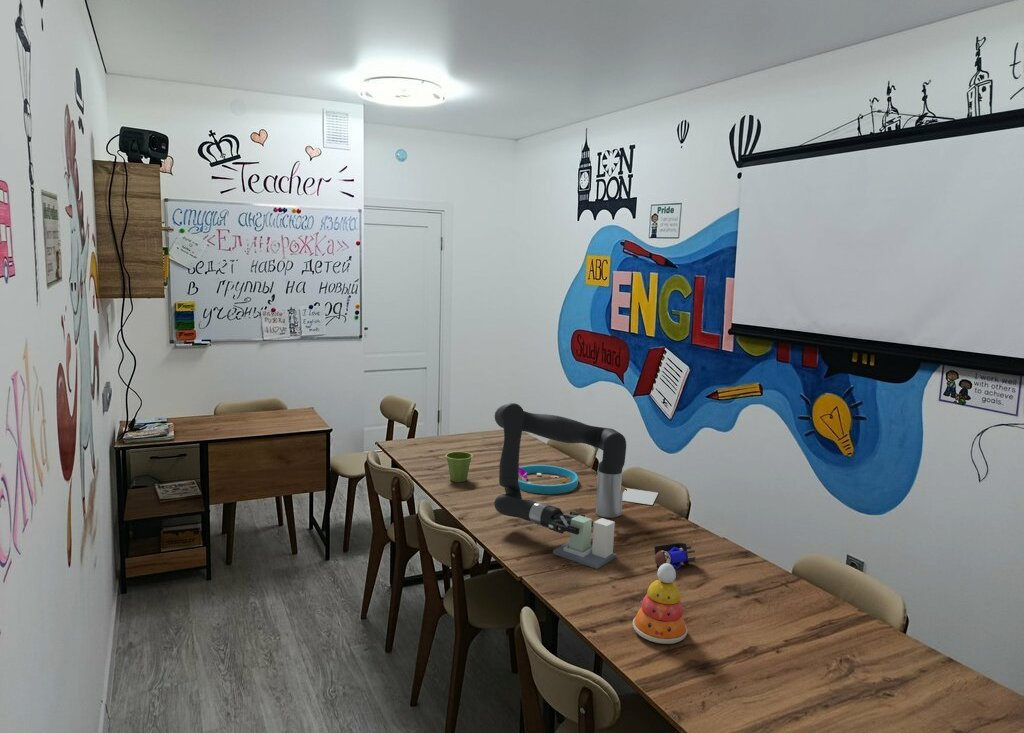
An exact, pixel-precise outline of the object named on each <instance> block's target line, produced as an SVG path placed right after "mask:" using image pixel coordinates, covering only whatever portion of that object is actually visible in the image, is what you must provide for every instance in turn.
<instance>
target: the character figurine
mask: <svg viewBox="0 0 1024 733" xmlns="http://www.w3.org/2000/svg"><path fill="white" fill-rule="evenodd" d="M653 549H654V555H655V556H654V562H655V564H656V568H657V569H659V567H660V566H661V565H663V564H665V563H668V564H670V565H672V566H673V567H674V569H675V570H679V568H680V567H681V566H683V565H687V566H689V565H690V563H692V562H695V560H696V559H697V557H695V556H692V557H689V556H688V554H693V553H695V552H696V550H694V549H692V546H691V545H687V543H686V542H685V543H683V542H676V543H669V544H662V545H656V546H653Z"/></svg>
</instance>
